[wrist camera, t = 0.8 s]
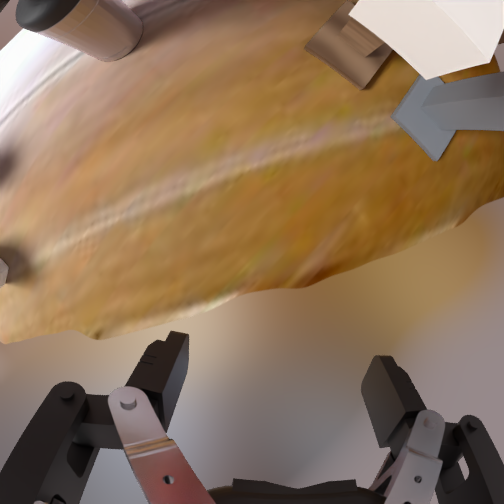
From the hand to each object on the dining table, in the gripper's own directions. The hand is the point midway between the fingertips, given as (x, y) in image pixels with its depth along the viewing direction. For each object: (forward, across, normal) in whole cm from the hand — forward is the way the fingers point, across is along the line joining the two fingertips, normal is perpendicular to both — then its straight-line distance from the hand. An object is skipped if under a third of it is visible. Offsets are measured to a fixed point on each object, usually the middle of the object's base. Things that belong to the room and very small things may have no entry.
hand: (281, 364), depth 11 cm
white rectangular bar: (0, -7, -22) cm, 23 cm away
